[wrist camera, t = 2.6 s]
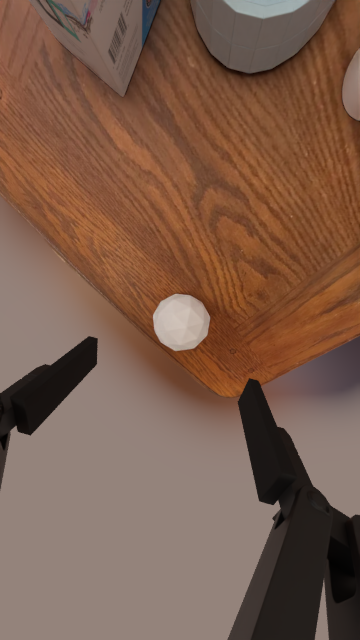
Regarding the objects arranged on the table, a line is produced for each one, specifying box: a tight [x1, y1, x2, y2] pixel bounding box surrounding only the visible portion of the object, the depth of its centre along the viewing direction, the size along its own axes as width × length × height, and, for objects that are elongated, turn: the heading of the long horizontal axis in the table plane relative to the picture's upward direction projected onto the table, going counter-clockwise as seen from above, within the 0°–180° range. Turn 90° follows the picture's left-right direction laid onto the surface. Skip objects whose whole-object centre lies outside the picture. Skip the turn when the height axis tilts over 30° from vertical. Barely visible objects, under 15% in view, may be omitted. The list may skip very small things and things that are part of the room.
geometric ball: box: [153, 294, 210, 351], centre depth 24 cm, size 8×8×8 cm
